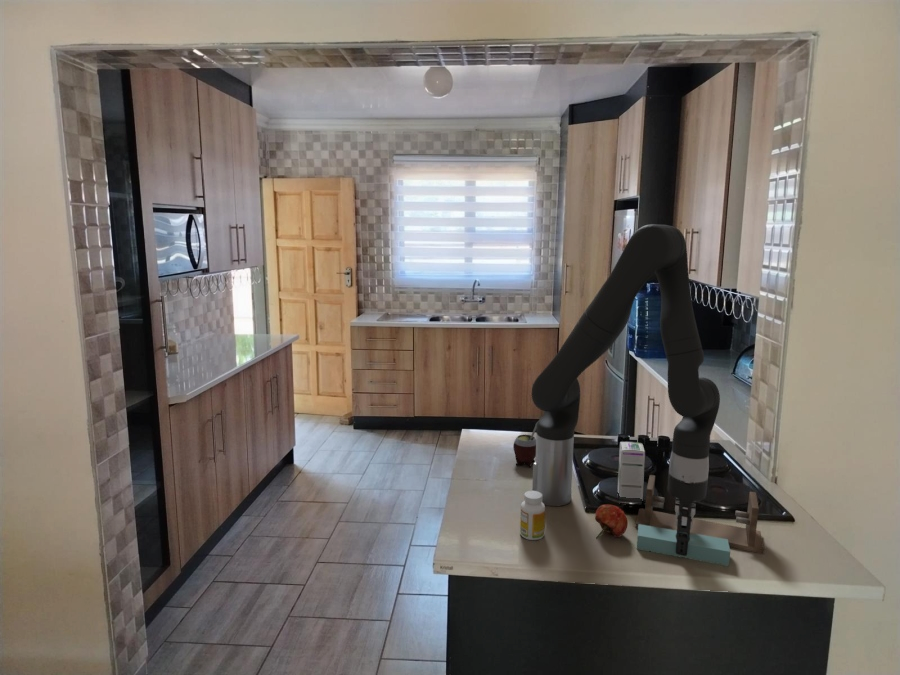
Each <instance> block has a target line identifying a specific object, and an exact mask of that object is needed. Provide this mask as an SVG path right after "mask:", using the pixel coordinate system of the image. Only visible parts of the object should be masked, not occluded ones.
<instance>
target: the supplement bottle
mask: <svg viewBox="0 0 900 675" xmlns="http://www.w3.org/2000/svg"><path fill="white" fill-rule="evenodd" d="M545 523H546V506H545V504H543V503H542V494H541V493H540V492H538V491H532V490H528V491H525V493H524V496H523V501H522V502H521V504H520V521H519V524H520V526H519V528H520V529H519V530H520V531H519V533H520V535H521V537H523V538H524V539H526V540H528V541H537V540H541V539H543V538H544V536H545Z"/></svg>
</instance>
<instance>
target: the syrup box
mask: <svg viewBox="0 0 900 675" xmlns="http://www.w3.org/2000/svg"><path fill="white" fill-rule="evenodd" d="M618 453H619V454H618V472H617V473H618V475H617V492H618V493H619V496H620V497H626V498H640V499H642V500H643V498H644V497H643V496H644V479H645V478H644V477H645V459H646V458H645V457H646V450H645V448H644V445H643V443H642V442H636V441H620V442H619V452H618Z"/></svg>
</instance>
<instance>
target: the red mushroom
mask: <svg viewBox="0 0 900 675" xmlns="http://www.w3.org/2000/svg"><path fill="white" fill-rule="evenodd" d="M624 506H625V504H621V505H620V506H617V505H613V504H610V503H609V504H601V505H600V506H598V508H597V509H596V511H595V515H594V520H595V521H596V523H598V524H599V526H600V527H601V530H600V533H598V534H597V536H596V537H595V539H598V538H599V537H600V536H601V535H602V534H603V533H604V531H605V532H607V533H608V534H611V535H612V536H613V537H615V538H619V537H622V536H623V535H624V534H625V533H626V531H627V529H628V525H629V524H628V523H629V522H628V516H627V515H626V514H625V512H624V510H623V508H624Z"/></svg>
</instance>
